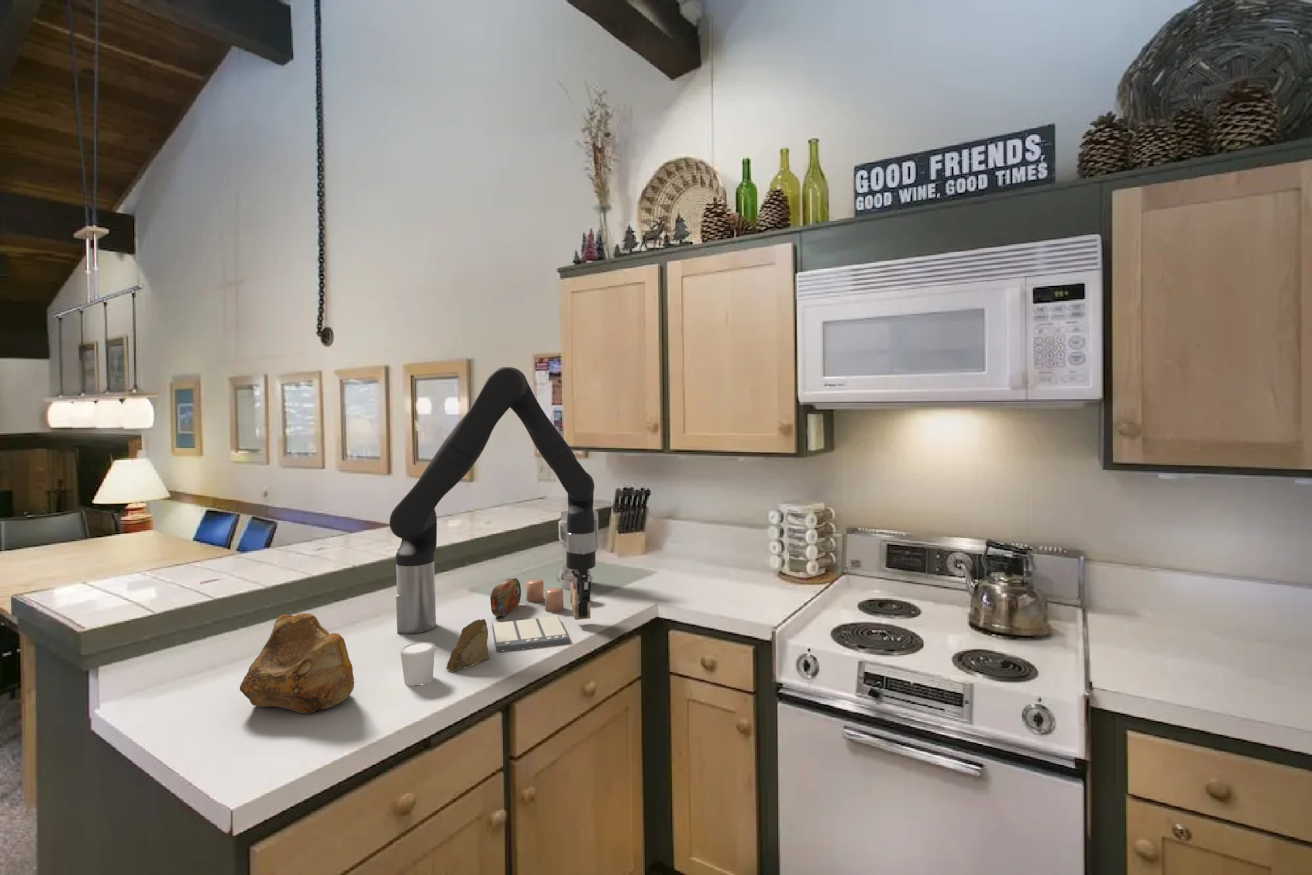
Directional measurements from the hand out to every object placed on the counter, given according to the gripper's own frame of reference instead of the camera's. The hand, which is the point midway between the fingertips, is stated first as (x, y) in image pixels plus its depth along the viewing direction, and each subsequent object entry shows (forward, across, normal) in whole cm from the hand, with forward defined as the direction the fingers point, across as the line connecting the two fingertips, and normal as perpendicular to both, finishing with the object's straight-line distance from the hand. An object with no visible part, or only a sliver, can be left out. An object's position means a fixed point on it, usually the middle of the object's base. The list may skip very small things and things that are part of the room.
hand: (581, 613), depth 166 cm
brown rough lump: (+4, +24, -62) cm, 66 cm away
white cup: (+3, +22, -39) cm, 45 cm away
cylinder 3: (+3, -20, +3) cm, 20 cm away
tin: (+3, -18, -18) cm, 25 cm away
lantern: (+3, -36, +6) cm, 37 cm away
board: (+3, +3, -14) cm, 14 cm away
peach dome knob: (+3, -15, -5) cm, 16 cm away
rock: (+3, +16, -29) cm, 33 cm away
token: (+1, 0, 0) cm, 1 cm away
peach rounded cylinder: (+3, -26, -9) cm, 28 cm away
